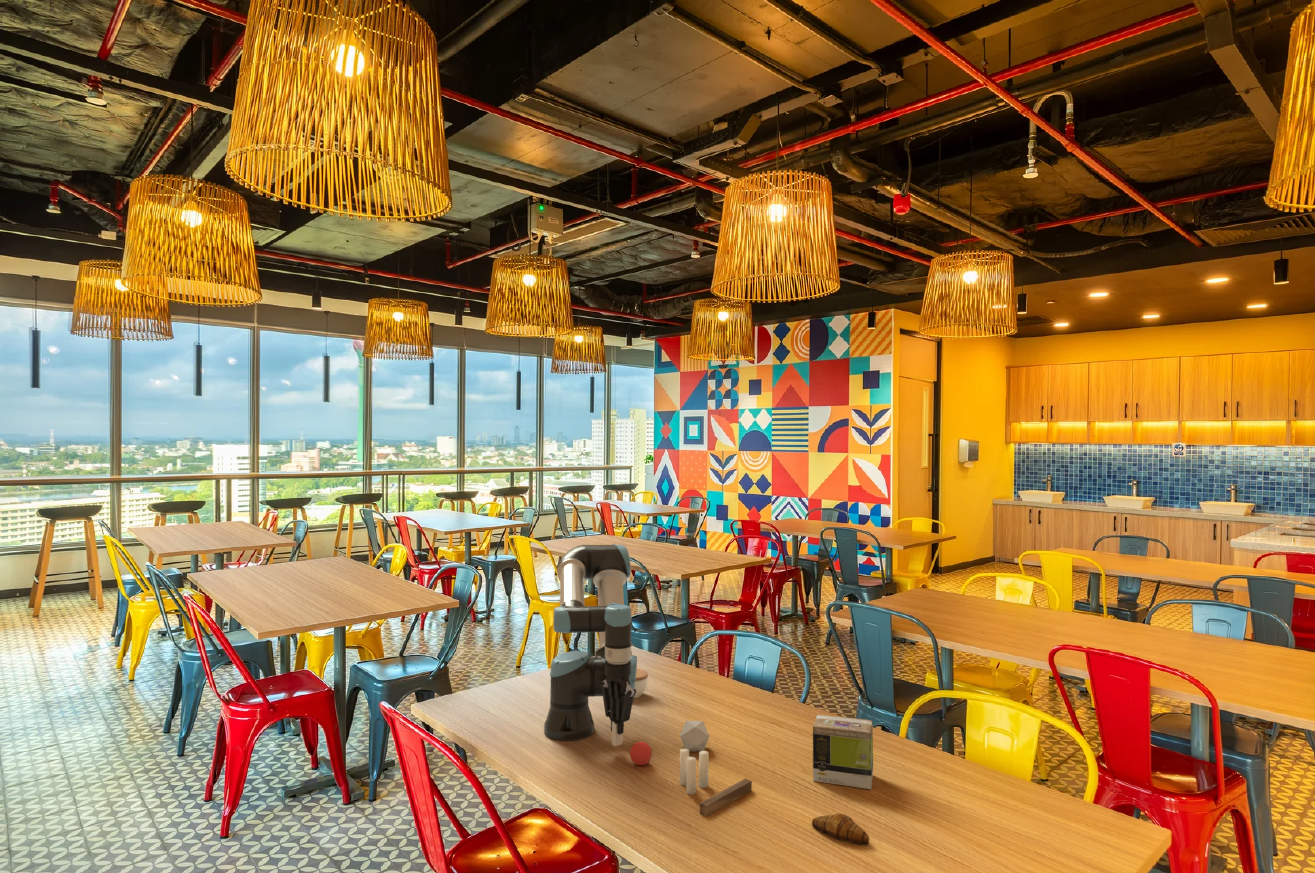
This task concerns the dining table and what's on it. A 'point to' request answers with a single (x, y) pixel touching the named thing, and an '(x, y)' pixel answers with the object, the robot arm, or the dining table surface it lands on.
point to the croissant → (841, 828)
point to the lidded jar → (640, 682)
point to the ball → (640, 753)
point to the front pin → (683, 765)
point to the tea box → (843, 751)
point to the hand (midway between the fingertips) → (617, 744)
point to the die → (694, 735)
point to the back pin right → (691, 775)
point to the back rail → (725, 797)
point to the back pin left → (703, 769)
